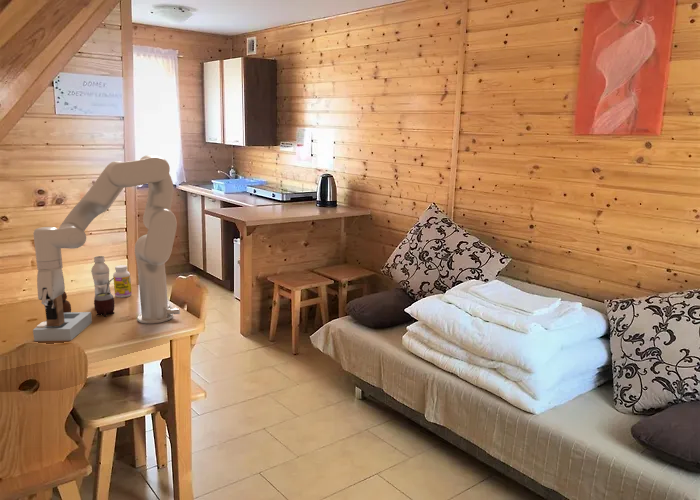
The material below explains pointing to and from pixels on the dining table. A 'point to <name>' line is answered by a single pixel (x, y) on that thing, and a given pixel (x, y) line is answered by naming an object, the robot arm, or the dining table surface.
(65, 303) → the wooden figurine
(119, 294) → the supplement bottle
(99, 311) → the mate gourd
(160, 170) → the robot arm
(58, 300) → the plug
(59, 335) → the socket board
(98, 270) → the plastic bottle
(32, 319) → the dining table surface
